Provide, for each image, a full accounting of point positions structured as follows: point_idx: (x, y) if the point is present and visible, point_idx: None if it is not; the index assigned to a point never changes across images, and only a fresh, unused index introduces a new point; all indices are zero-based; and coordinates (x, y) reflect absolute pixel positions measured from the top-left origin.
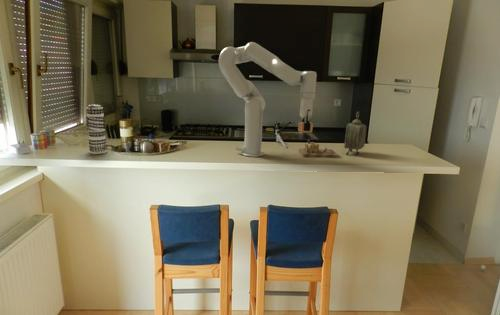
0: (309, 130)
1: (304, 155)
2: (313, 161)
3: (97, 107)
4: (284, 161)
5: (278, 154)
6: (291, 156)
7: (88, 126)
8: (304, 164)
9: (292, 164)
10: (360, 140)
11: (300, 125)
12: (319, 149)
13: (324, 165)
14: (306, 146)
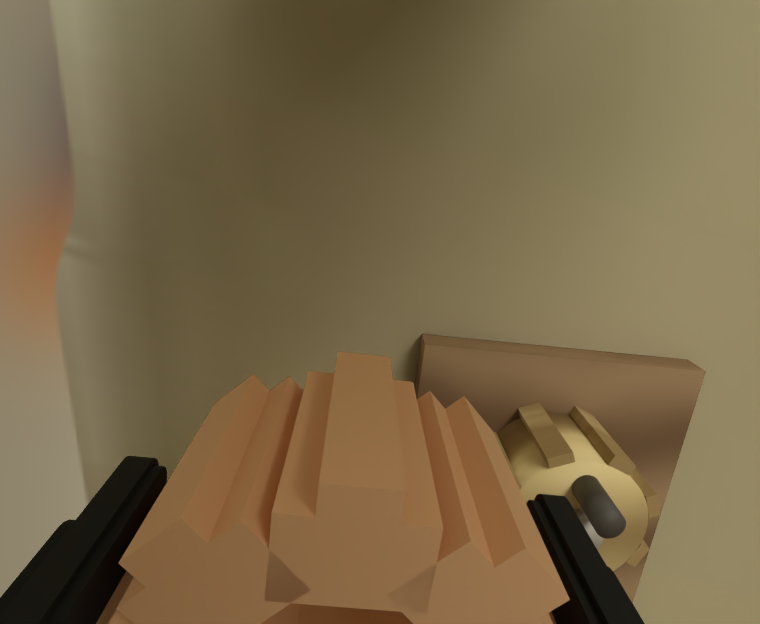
0: None
1: (421, 350)
2: (235, 380)
3: None
4: (213, 46)
5: (562, 59)
6: (450, 205)
7: None
8: (104, 251)
9: (85, 111)
10: None
11: (256, 468)
12: (626, 570)
13: (92, 435)
14: (553, 438)
